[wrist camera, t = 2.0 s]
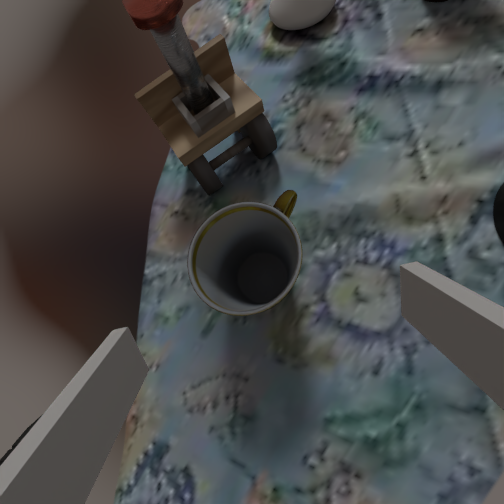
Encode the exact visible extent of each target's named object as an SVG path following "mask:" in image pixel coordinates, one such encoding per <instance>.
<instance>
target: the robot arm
mask: <svg viewBox="0 0 504 504" xmlns="http://www.w3.org/2000/svg"><path fill="white" fill-rule="evenodd" d="M494 220H495V225H496V228H497V230H498V233H499V235H500V237H501V239H502V240H503V242H504V183H503V184H502V186H501V187H500V189H499V191H498V193H497V195H496V198H495V202H494ZM400 282H401V311H402V316H403V317H404V318H405V319H406V320H407V321H408V322H409V323H410V324H411V325H412V326H414V327H415V328H416V329H417V330H418V331H419V332H420V333H421V334H422V335H423V336H424V337H425V338H426V339H428V340H429V341H430V342H431V343H432V344H433V345H434V346H435V347H436V348H437V349H438V350H439V351H441V352H442V353H443V354H444V355H445V356H446V357H447V358H448V359H449V360H450V361H451V362H452V363H453V364H455V365H456V366H457V367H458V368H459V369H460V370H461V371H462V372H463V373H464V374H465V375H466V376H468V377H469V378H470V379H471V380H472V381H473V382H474V383H475V384H476V385H477V386H478V387H479V388H480V389H482V390H483V391H484V392H485V393H486V394H487V395H488V396H489V397H490V398H491V399H492V400H493V401H494V402H496V403H497V404H498V405H499V406H500V407H501V408H502V409H503V410H504V307H502V306H500V305H498V304H496V303H494V302H492V301H491V300H489V299H487V298H485V297H483V296H481V295H479V294H477V293H475V292H474V291H472V290H470V289H468V288H466V287H464V286H462V285H460V284H458V283H457V282H455V281H453V280H451V279H449V278H447V277H445V276H443V275H441V274H440V273H438V272H436V271H434V270H432V269H430V268H428V267H426V266H424V265H423V264H421V263H419V262H412V263H408V264H403V265H400ZM148 371H149V368H148V366H147V364H146V362H145V360H144V358H143V356H142V354H141V352H140V350H139V348H138V346H137V344H136V342H135V340H134V338H133V337H132V334H131V332H130V330H129V328H128V327H125V328H121V329H116V330H113V331H112V332H111V333H110V334H109V336H108V337H107V338H106V339H105V340H104V342H103V343H102V344H101V345H100V346H99V348H98V349H97V350H96V351H95V352H94V354H93V355H92V356H91V357H90V358H89V360H88V361H87V362H86V363H85V365H84V366H83V367H82V368H81V369H80V371H79V372H78V373H77V374H76V375H75V377H74V378H73V379H72V380H71V381H70V383H69V384H68V385H67V386H66V387H65V389H64V390H63V391H62V392H61V393H60V395H59V396H58V397H57V398H56V399H55V401H54V402H53V403H52V404H51V406H50V407H49V408H48V409H47V410H46V412H45V413H44V414H43V415H42V416H40V417H39V418H38V419H37V420H36V421H35V422H34V423H33V424H31V426H29V427H28V428H27V429H26V430H25V431H24V433H23V434H22V435H21V436H20V437H19V439H18V440H17V441H16V442H15V443H14V444H13V446H12V449H10V450H8V451H7V453H6V454H5V455H4V456H3V457H2V458H1V460H0V504H85V502H86V500H87V498H88V496H89V494H90V491H91V489H92V487H93V485H94V483H95V481H96V479H97V477H98V475H99V473H100V471H101V469H102V466H103V464H104V462H105V460H106V458H107V456H108V454H109V452H110V450H111V448H112V446H113V444H114V442H115V439H116V438H117V435H118V433H119V431H120V429H121V427H122V425H123V423H124V421H125V419H126V417H127V415H128V413H129V411H130V409H131V406H132V404H133V402H134V400H135V398H136V396H137V394H138V392H139V390H140V388H141V386H142V384H143V382H144V379H145V377H146V375H147V373H148Z"/></svg>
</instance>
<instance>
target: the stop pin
mask: <svg viewBox="0 0 504 504" xmlns="http://www.w3.org/2000/svg"><path fill="white" fill-rule="evenodd" d="M122 2H123V5H124V6H125V8H126V10H127V12H128V13H129V15H130V17H131V19H132V20H133V22H134V24H135V26H136V27H137V28H139V29H141V30H150V31H151V33H152V35H153V37H154V39H155V41H156V43H157V44H158V46H159V48H160V50H161V52H162V54H163V56H164V57H165V59H166V61H167V63H168V65H169V67H170V69H171V71H172V72H173V74H174V76H175V78H176V80H177V82H178V84H179V86H180V87H181V89H182V91H183V93H184V95H185V97H186V99H187V101H188V102H189V104H190V106H191V108H192V110H193V112H194V114H195V115H196V114H198V113H199V112H201V111H202V110H204V109H205V108H206V107H208V106H209V105H211V104H212V103H214V99H213V97H212V94H211V92H210V90H209V87H208V85H207V83H206V80H205V78H204V75H203V73H202V71H201V68H200V66H199V63H198V61H197V59H196V56H195V54H194V51H193V49H192V47H191V44H190V42H189V39H188V37H187V35H186V32H185V30H184V28H183V25H182V23H181V20H180V18H179V16H178V12H179V11H180V9H181V7H182V5H183V0H122Z"/></svg>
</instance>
